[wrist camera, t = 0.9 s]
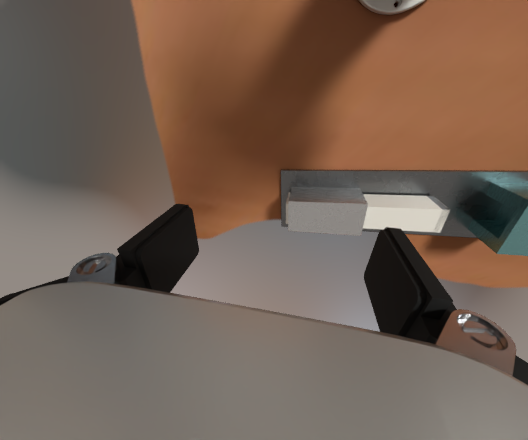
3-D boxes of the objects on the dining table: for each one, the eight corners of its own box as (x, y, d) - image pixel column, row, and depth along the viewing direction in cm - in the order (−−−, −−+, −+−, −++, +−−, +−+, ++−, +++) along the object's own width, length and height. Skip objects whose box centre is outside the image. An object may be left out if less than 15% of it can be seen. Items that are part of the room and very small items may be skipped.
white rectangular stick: (288, 210, 41) (285, 224, 37) (288, 192, 39) (285, 203, 35) (425, 216, 36) (440, 232, 32) (433, 196, 34) (450, 209, 30)
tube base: (281, 224, 44) (277, 245, 38) (281, 169, 38) (275, 183, 32) (500, 237, 37) (539, 266, 30) (542, 170, 31) (602, 189, 24)
